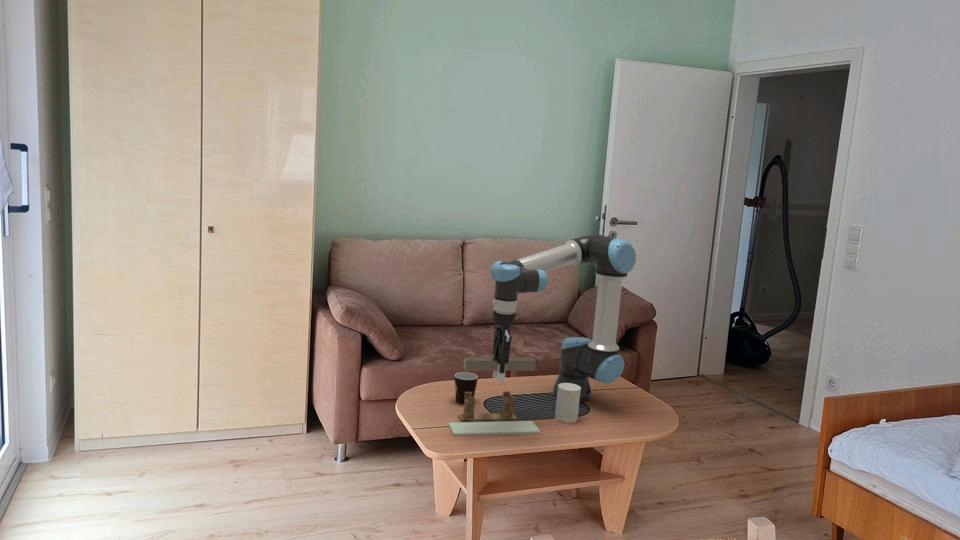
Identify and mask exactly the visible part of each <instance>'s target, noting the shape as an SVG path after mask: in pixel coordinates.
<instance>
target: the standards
mask: <svg viewBox="0 0 960 540" xmlns="http://www.w3.org/2000/svg"><path fill="white" fill-rule="evenodd" d="M502 397H503V398H502V408H501V412H496V413H491V412H490V413H486V412H485V413H475V409H476V408H475V407H476V396H474V397H472V392H465V398H468V399H465V401H464V405H463V413H459V414H458V419H459V420H460V422H504V421H518V418H517V416H516V415H515V414H514V413H513V411H514V404H515V396H511V391H508V390H507V391H506V390H505V391H504V390H503V392H502Z"/></svg>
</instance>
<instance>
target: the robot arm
mask: <svg viewBox="0 0 960 540" xmlns="http://www.w3.org/2000/svg"><path fill="white" fill-rule="evenodd" d="M636 261H637V254H636V250H635V247H634V246H633V245H632V244H631V242H629V241H628V240H624V239H621V238H619V237H618V238H617V237H613V236H607V235H602V234H593V233H592V234H588V235H584V236H582V235H581V236H579V237H575V238H572V239H569V240H566V241H565V243H564V244H562V245H559V246H555V247H552V248H549V249H547V250H544V251H540V252H537V253H533V254H530V255H528V256H525V257H520V258H518V259H514V260H511V261H508V262H507V261H503V260H498V261H496V262H494V263H493V264H492V266H491V268H490V277H491V279H492V280H493V281H494V282H495V285H494V297H493V298H494V299H493V301H492V303H491V304H492V305H493V312H492V318H491V319H492V323H493V324H495V325H494V326H493V345H492V346H493V347H492V355H493V357H499V362H497V371H493V372H492V378H494V379H495V381H496V383H505V382H506V380H505V378H506V371H505V370H506V364H507V363H508V362H509V357H510V354H511V353H510V352H511V343H512V339H513V336H512V335H511V329H510V326H513V325H515V323H516V312H517V306H518V294H529V293H539V292H544V291H545V290H546V289H547V287H548V285H549V284H548V283H549V277H548V274H547V273H548V272H550V271H554V270H556V269H560V268H562V267H566V266H569V265H572V266H578V265H581V264H582V265H591V266H594V267H595V270H594V273H595V275H596V276H597V277H598V282H597V292H596V303H595V312H594V313H595V314H594V321H593V322H594V323H593V330H592V331H593V333H592V339H591V338H588V337H583V336H582V337H581V336H579V337H578V336H573V337H567V338H564V339H563V340H562V343H561V348H560V358H559V359H560V360H559V369H558V371H559V372H558V375H557V377H556V380H555V382H554V384H553V387H552V395H553V396H555V397H556V398H557V391H558V384H560V383H572V384H576V385H578V386H580V387H581V391H580V401H579V403H581V402H587V401H590V399H591V398H592V388H591V384H590V379H593V380H595V381H596V382H598V383H601V384H607V385H610V384H612V383H614V382H616V381H617V380H619V378H620V377H621V376H622V373H623V372H624V369H625V361H624V358H623V357H622V356H621V355H620V354H619V353H620V346H619V345H618V344H617V332H618V325H619V313H620V304H621V297H622V296H621V295H622V288H623V281H624V280H625V279H626V278H627V277H628V273H630V272H631V271H632V270H633V269H634V267H635V265H636ZM589 378H590V379H589Z"/></svg>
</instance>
